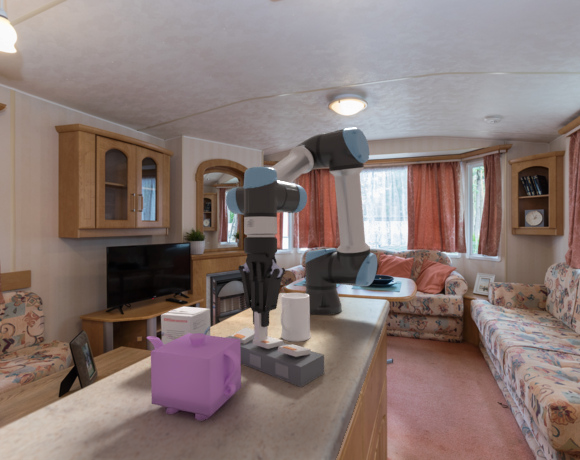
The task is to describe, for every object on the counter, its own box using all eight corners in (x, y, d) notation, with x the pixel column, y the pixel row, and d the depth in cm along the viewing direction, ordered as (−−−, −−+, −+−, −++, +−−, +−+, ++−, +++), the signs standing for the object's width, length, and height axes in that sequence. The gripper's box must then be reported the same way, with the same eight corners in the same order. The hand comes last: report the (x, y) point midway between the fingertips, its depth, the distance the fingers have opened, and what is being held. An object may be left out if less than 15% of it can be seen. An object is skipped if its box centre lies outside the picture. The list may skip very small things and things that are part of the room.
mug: (292, 347, 87) (292, 302, 87) (267, 341, 92) (267, 298, 92) (316, 335, 96) (315, 294, 96) (292, 330, 102) (292, 291, 101)
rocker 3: (292, 348, 75) (293, 343, 75) (310, 354, 72) (310, 348, 72) (277, 351, 71) (278, 345, 71) (295, 356, 68) (296, 350, 68)
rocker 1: (246, 330, 86) (245, 326, 85) (259, 334, 82) (258, 330, 82) (231, 339, 82) (230, 335, 82) (244, 343, 79) (243, 339, 78)
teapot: (253, 398, 62) (252, 330, 61) (224, 429, 52) (222, 350, 52) (166, 382, 68) (165, 321, 68) (126, 407, 59) (125, 337, 59)
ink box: (212, 353, 84) (211, 307, 84) (191, 367, 76) (190, 316, 76) (183, 350, 86) (182, 305, 86) (160, 362, 78) (160, 313, 78)
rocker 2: (267, 340, 80) (268, 335, 80) (283, 344, 77) (283, 339, 77) (252, 343, 76) (252, 338, 77) (268, 348, 73) (268, 343, 73)
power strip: (230, 341, 92) (230, 327, 92) (324, 373, 71) (324, 354, 71) (206, 350, 86) (205, 334, 86) (300, 387, 65) (300, 367, 65)
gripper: (229, 236, 77) (229, 338, 76) (269, 236, 68) (270, 351, 68) (253, 235, 82) (253, 330, 82) (293, 236, 74) (293, 341, 74)
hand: (261, 339), depth 75 cm, fingers closed
